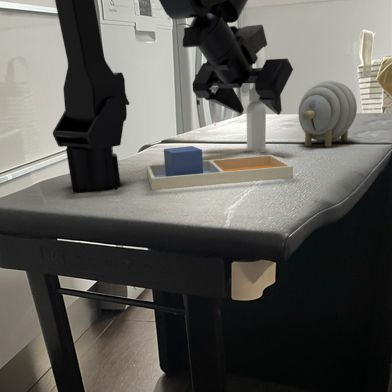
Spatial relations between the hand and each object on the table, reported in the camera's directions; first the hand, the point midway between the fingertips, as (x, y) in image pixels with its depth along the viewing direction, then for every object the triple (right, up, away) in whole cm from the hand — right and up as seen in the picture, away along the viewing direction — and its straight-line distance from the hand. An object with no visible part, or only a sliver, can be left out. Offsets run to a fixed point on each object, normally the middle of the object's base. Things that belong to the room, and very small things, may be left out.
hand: (260, 112), depth 102 cm
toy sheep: (+13, -4, +6) cm, 15 cm away
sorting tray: (-9, -19, -20) cm, 29 cm away
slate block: (-14, -20, -22) cm, 33 cm away
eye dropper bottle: (-1, -7, +2) cm, 7 cm away
